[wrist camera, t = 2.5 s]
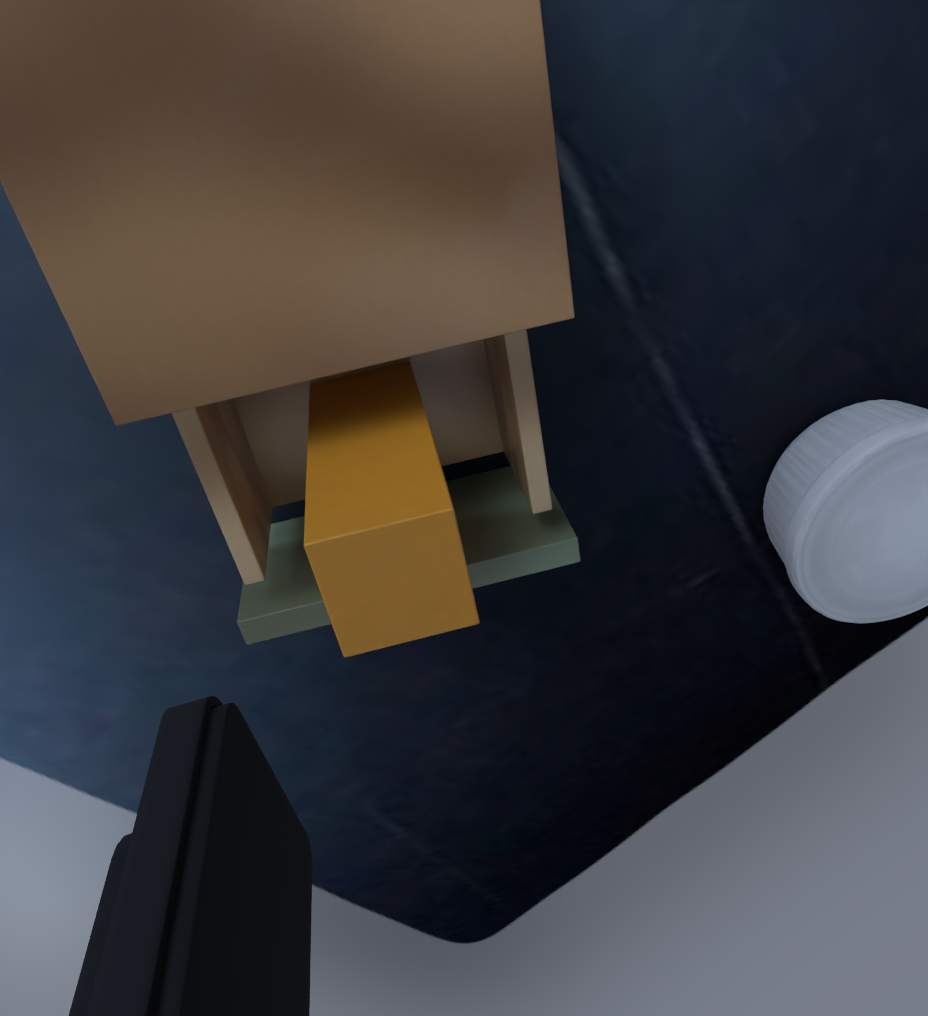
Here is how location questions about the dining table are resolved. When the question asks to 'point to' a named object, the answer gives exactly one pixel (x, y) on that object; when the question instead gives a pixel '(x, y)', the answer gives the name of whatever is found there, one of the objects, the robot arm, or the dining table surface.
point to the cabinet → (280, 184)
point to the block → (381, 514)
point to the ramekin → (855, 512)
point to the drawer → (458, 437)
